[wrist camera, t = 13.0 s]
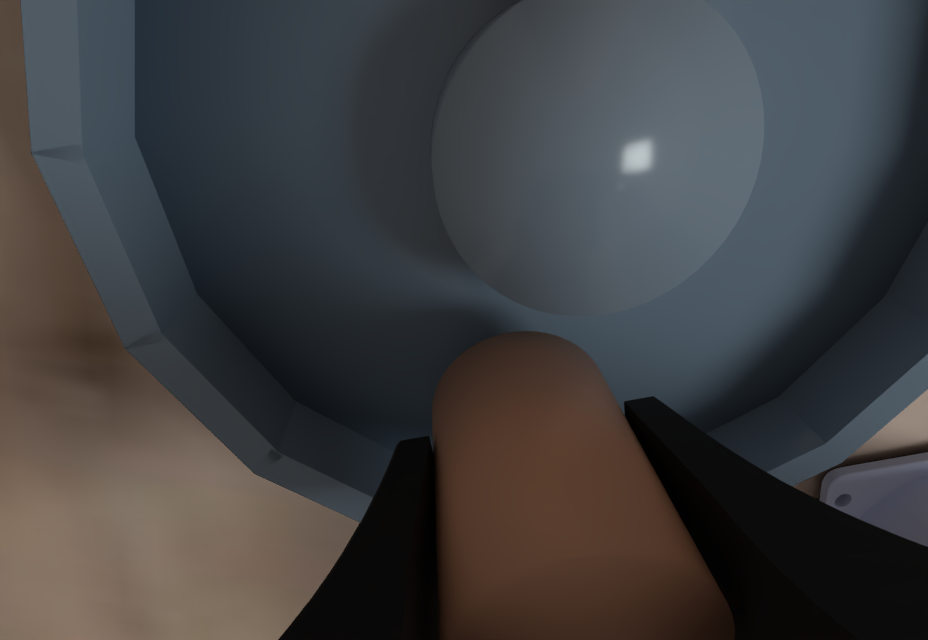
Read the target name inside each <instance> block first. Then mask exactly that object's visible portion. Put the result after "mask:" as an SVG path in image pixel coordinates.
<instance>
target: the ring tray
mask: <svg viewBox="0 0 928 640" xmlns="http://www.w3.org/2000/svg"><path fill="white" fill-rule="evenodd" d="M21 14H22V28H23V42H24V56H25V70H26V84H27V98H28V112H29V126H30V140H31V154H32V155H33V157H34V159H35V162H36V164H37V166H38V168H39V170H40V172H41V174H42V176H43V178H44V180H45V182H46V185H47V187H48V189H49V191H50V193H51V195H52V197H53V199H54V201H55V203H56V205H57V208H58V210H59V212H60V214H61V216H62V218H63V220H64V222H65V224H66V226H67V228H68V231H69V233H70V235H71V237H72V239H73V241H74V243H75V245H76V247H77V249H78V251H79V254H80V256H81V258H82V260H83V262H84V264H85V266H86V268H87V270H88V272H89V274H90V277H91V279H92V281H93V283H94V285H95V287H96V289H97V291H98V293H99V295H100V297H101V300H102V302H103V304H104V306H105V308H106V310H107V312H108V314H109V316H110V318H111V320H112V323H113V325H114V327H115V329H116V331H117V333H118V335H119V337H120V339H121V341H122V344H123V346H124V348H125V349H126V350H127V351H128V352H129V353H130V354H131V355H132V356H133V357H134V358H135V359H136V360H137V361H138V362H139V363H140V364H141V365H142V366H143V367H145V368H146V369H147V370H148V371H149V372H150V373H151V374H152V375H153V376H154V377H155V378H156V379H157V380H158V381H159V382H160V383H161V384H162V385H163V386H164V387H165V388H166V389H167V390H168V391H169V392H170V393H171V394H172V395H173V396H175V397H176V398H177V399H178V400H179V401H180V402H181V403H182V404H183V405H184V406H185V407H186V408H187V409H188V410H189V411H190V412H191V413H192V414H193V415H194V416H195V417H196V418H197V419H198V420H199V421H200V422H201V423H202V424H203V425H205V426H206V427H207V428H208V429H209V430H210V431H211V432H212V433H213V434H214V435H215V436H216V437H217V438H218V439H219V440H220V441H221V442H222V443H223V444H224V445H225V446H226V447H227V448H228V449H229V450H230V451H231V452H232V453H233V454H234V455H236V456H237V457H238V458H239V459H240V460H241V461H242V462H243V463H244V464H245V465H246V466H247V467H248V468H249V469H250V470H251V471H252V472H253V473H254V474H256V475H258V476H260V477H262V478H265V479H267V480H269V481H271V482H273V483H276V484H278V485H280V486H282V487H284V488H286V489H289V490H291V491H293V492H295V493H297V494H299V495H302V496H304V497H306V498H308V499H310V500H312V501H315V502H317V503H319V504H321V505H323V506H325V507H328V508H330V509H332V510H334V511H336V512H338V513H341V514H343V515H345V516H347V517H349V518H351V519H354V520H356V521H358V522H361V520H362V518H363V516H364V515H365V513H366V511H367V509H368V507H369V505H370V503H371V501H372V499H373V497H374V495H375V493H376V491H377V489H378V487H379V485H380V483H381V480H382V478H383V476H384V474H385V472H386V469H387V467H388V465H389V462H390V460H391V457H392V455H393V452H394V450H395V447H396V445H397V444H398V443H399V442H400V441H402V440H407V439H413V438H419V437H424V436H429V437H430V442H431V446H432V450H433V432H432V402H433V398H434V393H435V390H436V388H437V385H438V383H439V381H440V379H441V377H442V376H443V374H444V372H445V371H446V370H447V368H448V367H449V366H450V365H451V364H452V363H453V361H454V360H455V359H456V358H457V357H459V356H460V355H461V354H462V353H464V352H465V351H466V350H467V349H469V348H471V347H472V346H474V345H476V344H477V343H479V342H481V341H484V340H486V339H488V338H491V337H494V336H497V335H500V334H505V333H510V332H519V331H537V332H543V333H549V334H552V335H556V336H559V337H562V338H564V339H566V340H569V341H570V342H572V343H574V344H575V345H577V346H579V347H580V348H581V349H582V350H584V351H585V352H586V353H587V354H588V355H589V356H590V357H591V358H592V359H593V361H594V362H595V364H596V365H597V367H598V368H599V370H600V372H601V373H602V375H603V377H604V379H605V381H606V383H607V384H608V386H609V388H610V390H611V392H612V393H613V395H614V397H615V399H616V401H617V403H618V404H619V406H620V408H621V410H622V412H623V413H624V415H625V411H624V401H629V400H634V399H640V398H646V397H651V396H654V397H655V398H657V399H658V400H660V401H661V402H663V403H664V404H665V405H667V406H668V407H669V408H671V409H672V410H674V411H675V412H676V413H678V414H679V415H681V416H682V417H683V418H685V419H686V420H687V421H689V422H690V423H692V424H693V425H695V426H696V427H697V428H699V429H700V430H702V431H703V432H704V433H706V434H707V435H709V436H710V437H712V438H713V439H715V440H716V441H718V442H719V443H721V444H722V445H724V446H725V447H727V448H728V449H730V450H731V451H733V452H734V453H736V454H737V455H739V456H741V457H742V458H744V459H745V460H747V461H749V462H750V463H752V464H754V465H755V466H757V467H759V468H760V469H762V470H764V471H766V472H767V473H769V474H771V475H772V476H774V477H776V478H777V479H779V480H781V481H783V482H785V483H786V484H788V485H790V486H794V485H796V484H798V483H800V482H802V481H804V480H807V479H809V478H811V477H813V476H815V475H817V474H819V473H821V472H823V471H825V470H828V469H830V468H832V467H834V466H836V465H838V464H840V463H842V462H843V461H844V460H845V459H847V458H848V457H849V456H850V455H851V454H852V453H854V452H855V451H856V450H857V449H858V448H859V447H861V446H862V445H863V444H864V443H865V442H866V441H868V440H869V439H870V438H871V437H872V436H873V435H875V434H876V433H877V432H878V431H879V430H880V429H882V428H883V427H884V426H885V425H886V424H887V423H889V422H890V421H891V420H892V419H893V418H894V417H896V416H897V415H898V414H899V413H900V412H901V411H903V410H904V409H905V408H906V407H907V406H908V405H910V404H911V403H912V402H913V401H914V400H915V399H917V398H918V397H919V396H920V395H921V394H922V393H924V392H925V391H926V390H927V389H928V0H21Z"/></svg>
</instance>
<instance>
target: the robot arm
mask: <svg viewBox="0 0 928 640" xmlns="http://www.w3.org/2000/svg"><path fill="white" fill-rule="evenodd" d="M624 411H625V417H626V419H627V421H628V423H629V424H630V426H631V428H632V430H633V432H634V434H635V435H636V437H637V439H638V441H639V443H640V444H641V446H642V448H643V450H644V452H645V454H646V455H647V457H648V459H649V461H650V463H651V464H652V466H653V468H654V470H655V472H656V474H657V475H658V477H659V479H660V481H661V483H662V485H663V486H664V488H665V490H666V492H667V494H668V495H669V497H670V499H671V501H672V503H673V505H674V506H675V508H676V510H677V512H678V514H679V515H680V517H681V519H682V521H683V523H684V525H685V526H686V528H687V530H688V532H689V534H690V535H691V537H692V539H693V541H694V543H695V545H696V546H697V548H698V550H699V552H700V554H701V556H702V557H703V559H704V561H705V563H706V565H707V566H708V568H709V570H710V572H711V574H712V576H713V577H714V579H715V581H716V583H717V585H718V586H719V588H720V590H721V592H722V594H723V596H724V597H725V599H726V601H727V603H728V605H729V608H730V610H731V612H732V615H733V620H734V625H735V640H928V452H926V453H920V454H915V455H909V456H903V457H897V458H892V459H886V460H880V461H875V462H869V463H863V464H857V465H852V466H846V467H840V468H836V469H833V470H832V471H830V472H828V473H827V474H826V476H825V477H824V479H823V481H822V485H821V492H820V500H817V499H815V498H813V497H811V496H809V495H807V494H805V493H803V492H801V491H799V490H798V489H796V488H794V487H792V486H790V485H788V484H786V483H785V482H783V481H781V480H779V479H777V478H776V477H774V476H772V475H771V474H769V473H767V472H766V471H764V470H762V469H760V468H759V467H757V466H755V465H754V464H752V463H750V462H749V461H747V460H745V459H744V458H742V457H741V456H739V455H737V454H736V453H734V452H733V451H731V450H730V449H728V448H727V447H725V446H724V445H722V444H721V443H719V442H718V441H716V440H715V439H713V438H712V437H710V436H709V435H707V434H706V433H704V432H703V431H702V430H700V429H699V428H697V427H696V426H695V425H693V424H692V423H690V422H689V421H687V420H686V419H685V418H683V417H682V416H681V415H679V414H678V413H676V412H675V411H674V410H672V409H671V408H669V407H668V406H667V405H665V404H664V403H663V402H661V401H660V400H658V399H657V398H655V397H654V396H651V397H646V398H640V399H634V400H629V401H624ZM278 640H440V635H439V606H438V577H437V548H436V519H435V490H434V460H433V450H432V446H431V442H430V437H429V436H424V437H419V438H413V439H407V440H402V441H400V442H399V443H398V444H397V445H396V447H395V450H394V452H393V455H392V457H391V460H390V462H389V465H388V467H387V469H386V472H385V474H384V476H383V478H382V480H381V483H380V485H379V487H378V489H377V491H376V493H375V495H374V497H373V499H372V501H371V503H370V505H369V507H368V509H367V511H366V513H365V515H364V516H363V518H362V520H361V522H360V524H359V525H358V527H357V529H356V531H355V532H354V534H353V536H352V537H351V539H350V541H349V542H348V544H347V546H346V548H345V549H344V551H343V553H342V554H341V556H340V557H339V559H338V560H337V562H336V564H335V565H334V567H333V568H332V570H331V571H330V573H329V574H328V576H327V577H326V578H325V580H324V581H323V583H322V584H321V586H320V587H319V588H318V590H317V591H316V593H315V594H314V595H313V597H312V598H311V599H310V601H309V602H308V603H307V604H306V606H305V607H304V608H303V610H302V611H301V612H300V613H299V615H298V616H297V617H296V619H295V620H294V621H293V622H292V624H291V625H290V626H289V627H288V629H287V630H286V631H285V632H284V633H283V635H282V636H281V637H280V638H279V639H278Z"/></svg>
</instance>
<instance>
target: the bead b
mask: <svg viewBox="0 0 928 640" xmlns="http://www.w3.org/2000/svg"><path fill="white" fill-rule="evenodd" d="M432 432H433V460H434V490H435V519H436V548H437V577H438V606H439V635H440V640H735V625H734V620H733V615H732V612H731V610H730V608H729V605H728V603H727V601H726V599H725V597H724V596H723V594H722V592H721V590H720V588H719V586H718V585H717V583H716V581H715V579H714V577H713V576H712V574H711V572H710V570H709V568H708V566H707V565H706V563H705V561H704V559H703V557H702V556H701V554H700V552H699V550H698V548H697V546H696V545H695V543H694V541H693V539H692V537H691V535H690V534H689V532H688V530H687V528H686V526H685V525H684V523H683V521H682V519H681V517H680V515H679V514H678V512H677V510H676V508H675V506H674V505H673V503H672V501H671V499H670V497H669V495H668V494H667V492H666V490H665V488H664V486H663V485H662V483H661V481H660V479H659V477H658V475H657V474H656V472H655V470H654V468H653V466H652V464H651V463H650V461H649V459H648V457H647V455H646V454H645V452H644V450H643V448H642V446H641V444H640V443H639V441H638V439H637V437H636V435H635V434H634V432H633V430H632V428H631V426H630V424H629V423H628V421H627V419H626V417H625V415H624V413H623V412H622V410H621V408H620V406H619V404H618V403H617V401H616V399H615V397H614V395H613V393H612V392H611V390H610V388H609V386H608V384H607V383H606V381H605V379H604V377H603V375H602V373H601V372H600V370H599V368H598V367H597V365H596V364H595V362H594V361H593V359H592V358H591V357H590V356H589V355H588V354H587V353H586V352H585V351H584V350H582V349H581V348H580V347H579V346H577V345H575V344H574V343H572V342H570V341H569V340H566V339H564V338H562V337H559V336H556V335H552V334H549V333H543V332H537V331H519V332H510V333H505V334H500V335H497V336H494V337H491V338H488V339H486V340H484V341H481V342H479V343H477V344H476V345H474V346H472V347H471V348H469V349H467V350H466V351H465V352H464V353H462V354H461V355H460V356H459V357H457V358H456V359H455V360H454V361H453V363H452V364H451V365H450V366H449V367H448V368H447V370H446V371H445V372H444V374H443V376H442V377H441V379H440V381H439V383H438V385H437V388H436V390H435V393H434V398H433V402H432Z"/></svg>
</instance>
